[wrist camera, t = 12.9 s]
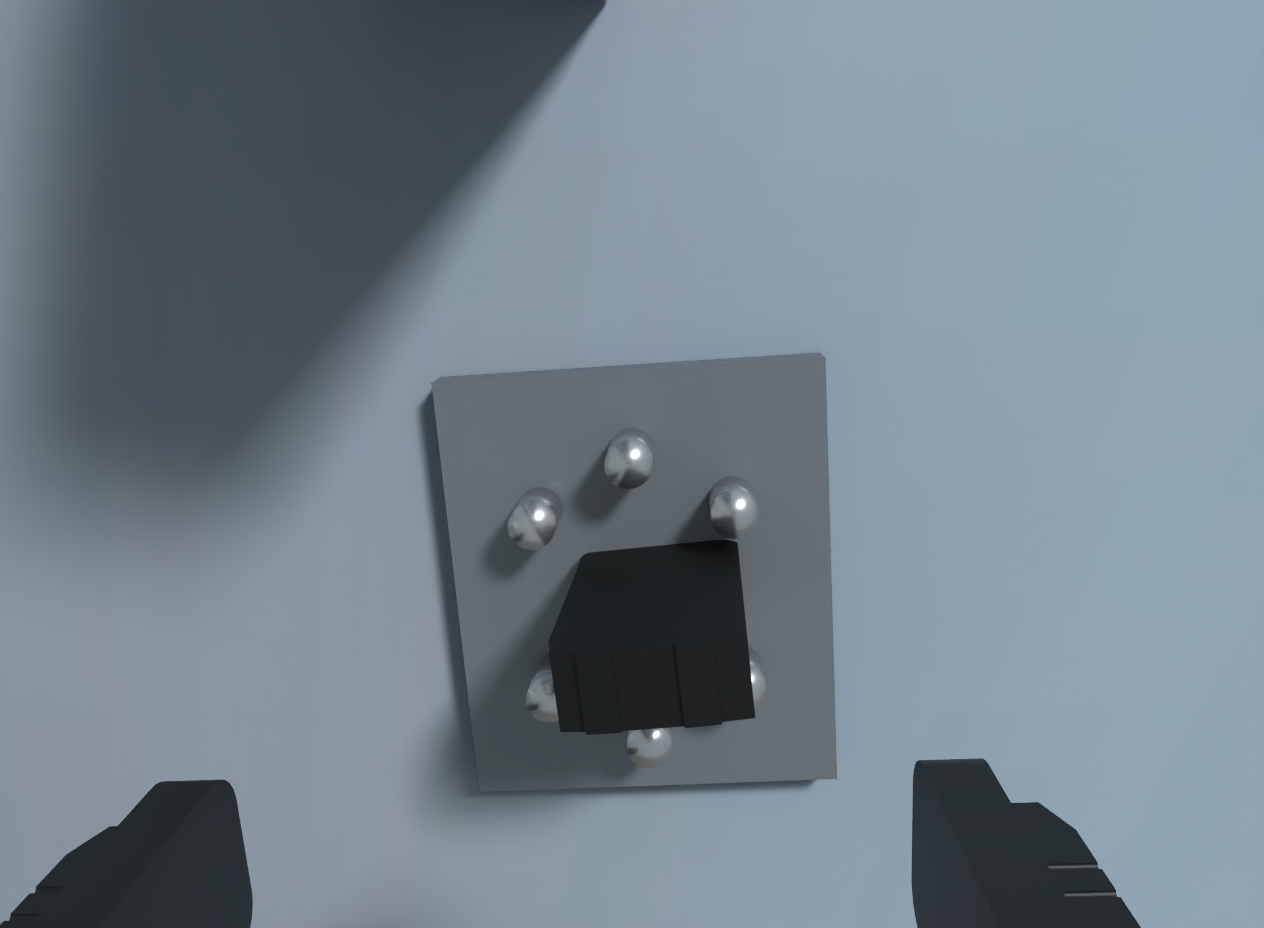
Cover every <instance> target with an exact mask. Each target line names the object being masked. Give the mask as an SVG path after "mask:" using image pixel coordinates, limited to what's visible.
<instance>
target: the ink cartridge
mask: <svg viewBox="0 0 1264 928" xmlns="http://www.w3.org/2000/svg"><path fill="white" fill-rule="evenodd" d="M548 643H549V658H550V665H551V672H552V679H553V686H554V692H555V699H556V706H557V713H558V720H559V726H560V732H586V735H596V734H613V733H621V732H623V731H632V730H645V729H658V728H671V727H685V728H694V727H703V726H713V725H722V722H727V721H735V720H744V719H752V718H755V709H754V699H753V689H752V679H751V669H750V659H749V649H748V639H747V629H746V619H745V610H744V600H743V590H742V581H741V571H740V561H739V552H738V542H735V541H731V540H711V541H701V542H690V543H680V544H670V545H660V546H650V547H639V548H629V549H619V550H609V551H600V552H591V553H587V554H584V555H583V557H582V558H580V563H579V566H578V568H577V571H576V573H575V576H574V578H573V581H572V583H571V586H570V588H569V591H568V593H567V596H566V598H565V601H564V603H563V606H562V608H561V611H560V613H559V616H558V618H557V621H556V623H555V626H554V628H553V631H552V633H551V636H550V638H549V641H548Z"/></svg>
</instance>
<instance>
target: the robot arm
mask: <svg viewBox="0 0 1264 928" xmlns="http://www.w3.org/2000/svg"><path fill="white" fill-rule="evenodd" d="M912 894H913V904H914V911H915V917H916V922H917V927H918V928H1141V927H1140V926H1139V924H1138V923H1137V921H1136V920H1135V918H1134V917H1133V915H1132V914H1131V912H1130V911H1129V909H1128V908H1127V906H1126V905H1125V903H1124V902H1123V900H1122V899H1121V897H1117V895H1116V890H1115V888H1114V887H1113V885H1112V884H1111V882H1110V881H1109V879H1108V878H1107V876H1106V875H1105V873H1104V872H1103V870H1102V869H1099V868H1098V863H1097V861H1096V859H1095V858H1094V856H1093V855H1092V853H1091V852H1090V850H1089V849H1088V847H1087V846H1086V844H1085V843H1084V841H1083V840H1082V838H1081V837H1080V835H1079V834H1078V832H1077V831H1076V830H1075V829H1074V828H1073V827H1071V826H1070V825H1069V824H1067V823H1066V822H1064V821H1063V820H1062V819H1060V818H1059V817H1058V816H1056V815H1055V814H1053V813H1052V812H1051V811H1049V810H1048V809H1047V808H1045V807H1044V806H1042V805H1041V804H1040V803H1038V802H1034V803H1011V802H1010V800H1009V799H1008V797H1007V795H1006V794H1005V792H1004V790H1003V788H1002V787H1001V785H1000V783H999V782H998V780H997V778H996V776H995V775H994V773H993V771H992V770H991V768H990V766H989V765H988V763H987V762H986V761H985V760H984V759H950V760H919V761H917V762H916V764H915V768H914V775H913V821H912ZM252 905H253V902H252V890H251V884H250V878H249V872H248V866H247V860H246V854H245V848H244V842H243V836H242V830H241V824H240V818H239V812H238V806H237V800H236V796H235V793H234V790H233V788H232V786H231V785H230V783H229V782H227V781H226V780H197V781H164V782H160V783H158V784H156V785H155V786H154V787H153V788H152V789H151V790H150V791H149V792H148V793H147V794H146V795H145V796H144V797H143V799H142V800H141V801H140V802H139V803H138V804H137V805H136V806H135V807H134V809H133V810H132V811H131V812H130V813H129V814H128V815H127V816H126V817H125V819H124V820H123V821H122V822H121V823H120V824H119V825H118V826H112V827H108V828H107V829H105V830H104V831H102V832H101V833H99V834H97V835H96V836H94V837H93V838H91V839H90V840H88V841H87V842H85V843H84V844H82V845H80V846H79V847H77V848H76V849H74V850H73V851H71V852H70V853H68V854H67V855H66V856H65V857H64V858H63V859H62V860H61V861H60V862H59V863H58V864H57V865H56V866H55V867H54V868H53V869H52V870H51V872H50V873H49V874H48V875H47V876H46V877H45V878H44V879H43V880H42V881H41V882H40V883H39V884H38V885H37V886H36V892H35V893H32V894H29V895H28V896H27V897H26V898H25V899H24V900H23V901H22V902H21V903H20V904H19V906H18V907H17V908H16V909H15V910H14V911H13V912H12V913H11V917H10V920H9V921H3V923H2V924H1V925H0V928H250V925H251V919H252Z"/></svg>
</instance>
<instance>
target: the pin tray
mask: <svg viewBox="0 0 1264 928" xmlns="http://www.w3.org/2000/svg"><path fill="white" fill-rule="evenodd" d="M431 384H432V393H433V401H434V410H435V418H436V427H437V435H438V444H439V453H440V461H441V470H442V478H443V487H444V495H445V504H446V512H447V521H448V529H449V538H450V547H451V555H452V564H453V572H454V581H455V589H456V598H457V606H458V615H459V624H460V632H461V641H462V649H463V658H464V666H465V675H466V683H467V692H468V701H469V709H470V718H471V726H472V735H473V743H474V752H475V760H476V769H477V777H478V786H479V792H498V791H525V790H551V789H578V788H604V787H631V786H658V785H684V784H711V783H737V782H764V781H791V780H817V779H837V765H836V729H835V693H834V656H833V620H832V584H831V547H830V511H829V475H828V438H827V402H826V366H825V357H824V356H823V355H822V354H821V353H809V354H794V355H778V356H763V357H747V358H732V359H716V360H701V361H685V362H670V363H654V364H639V365H623V366H607V367H592V368H576V369H561V370H545V371H530V372H514V373H499V374H483V375H468V376H452V377H440V378H438V379H437V380H435V381H434V382H432V383H431ZM711 540H731V541H735V542H738V552H739V561H740V571H741V581H742V590H743V600H744V610H745V619H746V629H747V639H748V649H749V659H750V669H751V679H752V689H753V699H754V709H755V718H752V719H744V720H735V721H727V722H722V725H713V726H703V727H694V728H685V727H671V728H658V729H645V730H632V731H623V732H621V733H613V734H596V735H586V732H560V726H559V720H558V713H557V706H556V699H555V692H554V686H553V679H552V672H551V665H550V658H549V643H548V641H549V638H550V636H551V633H552V631H553V628H554V626H555V623H556V621H557V618H558V616H559V613H560V611H561V608H562V606H563V603H564V601H565V598H566V596H567V593H568V591H569V588H570V586H571V583H572V581H573V578H574V576H575V573H576V571H577V568H578V566H579V563H580V558H582V557H583V555H584V554H587V553H591V552H600V551H609V550H619V549H629V548H639V547H650V546H660V545H670V544H680V543H690V542H701V541H711Z"/></svg>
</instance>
